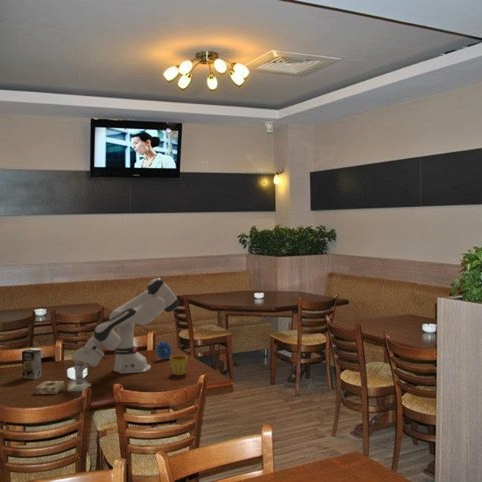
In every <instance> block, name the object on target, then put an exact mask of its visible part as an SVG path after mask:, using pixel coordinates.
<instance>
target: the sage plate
mask: <svg viewBox="0 0 482 482" xmlns="http://www.w3.org/2000/svg"><path fill="white" fill-rule="evenodd" d="M91 386H92V383H83V384H81V385H76V383H73V384H72V385H70V387H68V388H67V392H83V391H82V390H83V389H84V388H87V387H89V388H90V387H91Z"/></svg>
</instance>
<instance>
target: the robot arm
mask: <svg viewBox="0 0 482 482" xmlns="http://www.w3.org/2000/svg"><path fill="white" fill-rule="evenodd" d="M179 303H180V302H179V299H178V297H177V296H176V295H175V293H174V292H173V290H172V289H171V288H170V287H169V286H168V285H167V284H166V283H165V280H164V279H162V278H161V277H156V278H153V279H152V280H150V281H149V283H147V290H145V291H143V292H142V293H140V294H138V295H137V296H135V297H134V298H132V299H130V300H129V301H127V302H124V303H123V304H121V305H120V306H119V307H117V308H115V309H113V311H112V312H111V313H110V315H109V319H108V320H106V321H103V322H101V323H99V324H98V325H96V326H95V328H94V330H93V333H92V335H91V338H89V340H88V341H87V342H86V343H85V345H84V346H81V347H80V348H78V349H76V351H75V352H74V353H73V355H72V356H71V360H72V361H73V362H74V363H75V365H74V367H73V369H74V370H75V366H76V365H81V364H82V367H81V368H80V369H79V370H80V371H82V372H83V373H84V370H85V369H87V368H88V367H93V368H96V366H98V365H99V364H100V362H101V360H102V359H103V358H102V357H104V356H105V352H104V351H103V350H102V349H103V348H105V349H107V350H108V351H111V352H112V351H114V356H115V361H114V367H113V371H114V372H117V373H119V374H135V373H146V372H149V371H150V370H151V368H152V366H151V364H148V361H147V358H146V357H145V356H144V355H142V354H141V353H140V352H138V346H135V345H134V344H135V343H134V337H135V336H134V331H135V326H136V324H137V325H143V326H144V325H148V324H149V323H151V322H152V321H153V320H155V319H156V318H157V317H158V316H159V315H161V313H162V312H166V313H171V312H173V311H174V310H176V309H177V308H178V306H179ZM114 329H116V331H115V330H114Z"/></svg>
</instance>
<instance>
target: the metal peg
mask: <svg viewBox="0 0 482 482" xmlns="http://www.w3.org/2000/svg"><path fill="white" fill-rule="evenodd" d="M82 366H83V364H82V365H81V364H80V365H76V366H75V365H74V367H75V369H74V376H75V384H76V385H81V384H84V371H83V372H82V371H80V370H79V369H80V368H81V367H82Z"/></svg>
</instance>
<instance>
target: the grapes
mask: <svg viewBox="0 0 482 482" xmlns="http://www.w3.org/2000/svg"><path fill="white" fill-rule="evenodd" d="M155 347H156V348H155V351H154V352H155V353H156V356H157V357H158V358H161V359H162V360H166V359H170V357H171V355H172V354H173V350H172V348H173V347H172V346H171V345H169V342H167V341H165V342H164V341H160V342H159V343H157V344H156V345H155Z"/></svg>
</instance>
